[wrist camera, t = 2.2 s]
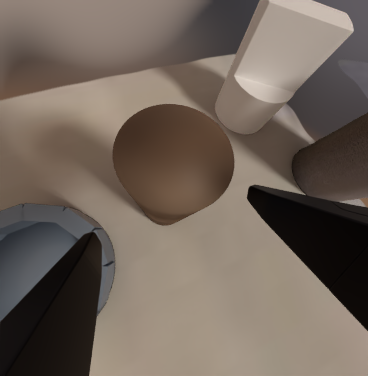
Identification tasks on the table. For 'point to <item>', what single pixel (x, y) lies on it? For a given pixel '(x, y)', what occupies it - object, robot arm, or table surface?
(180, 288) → the table surface
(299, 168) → the pillar candle
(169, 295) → the table surface
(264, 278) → the table surface
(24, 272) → the ceramic ring dish
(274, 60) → the cylinder with rectangular tab
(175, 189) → the brown tapered cylinder
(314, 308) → the table surface
